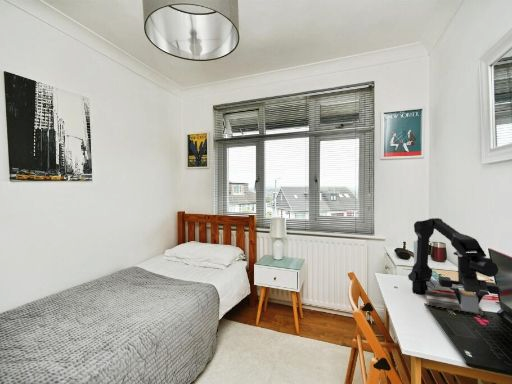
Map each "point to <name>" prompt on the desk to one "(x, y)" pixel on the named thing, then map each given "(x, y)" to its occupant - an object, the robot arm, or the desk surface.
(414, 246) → the flask
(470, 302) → the module
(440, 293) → the rail board
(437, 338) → the desk surface
